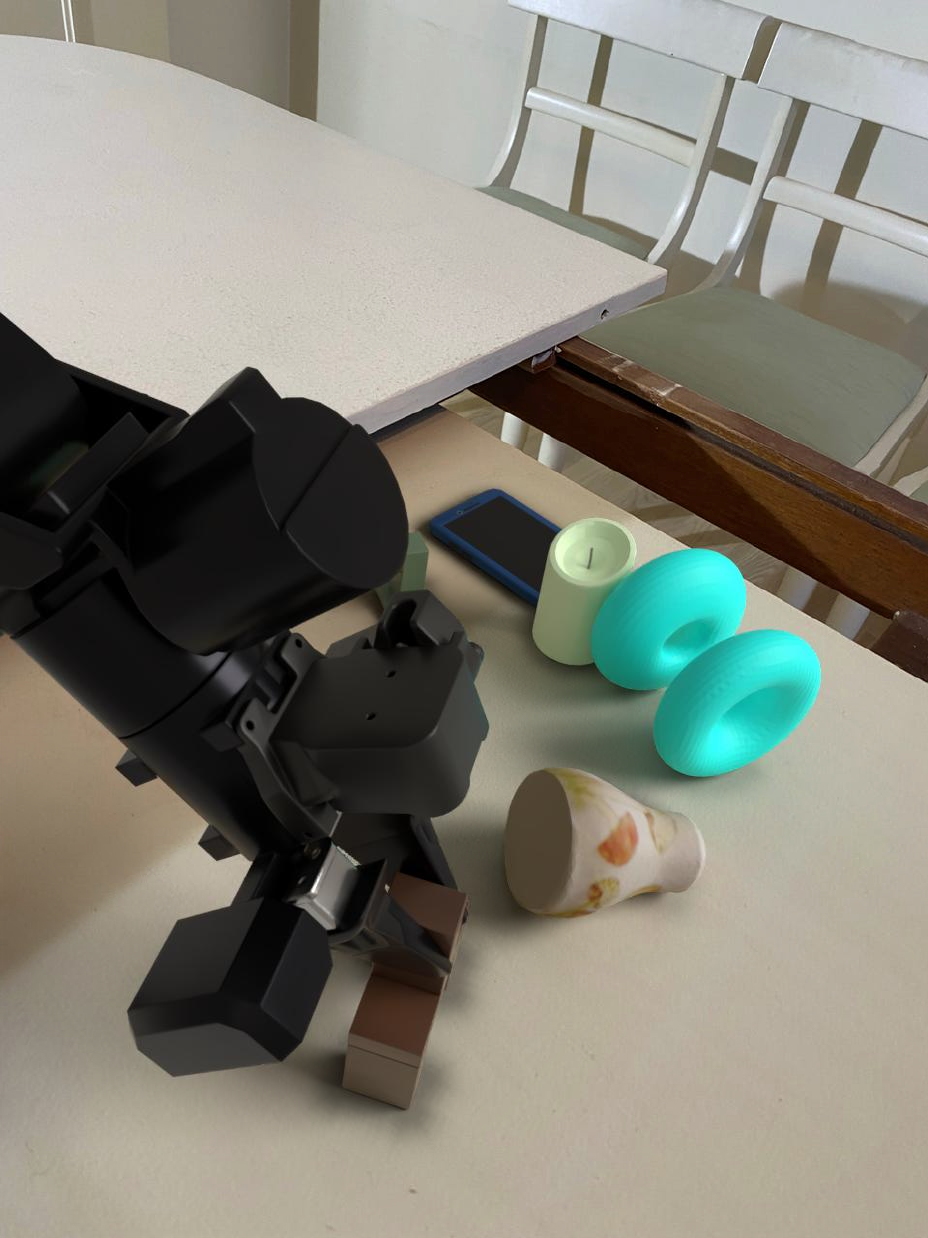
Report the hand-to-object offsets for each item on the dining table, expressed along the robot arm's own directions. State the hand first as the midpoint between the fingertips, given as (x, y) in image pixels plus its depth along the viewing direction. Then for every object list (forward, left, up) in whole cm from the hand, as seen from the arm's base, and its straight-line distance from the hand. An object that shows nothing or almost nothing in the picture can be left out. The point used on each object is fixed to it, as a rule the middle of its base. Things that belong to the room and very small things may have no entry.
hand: (451, 947), depth 41 cm
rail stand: (-3, +27, -7) cm, 28 cm away
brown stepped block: (-1, +1, -7) cm, 7 cm away
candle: (+13, +25, -7) cm, 29 cm away
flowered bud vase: (+10, +7, -7) cm, 14 cm away
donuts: (+18, +17, -7) cm, 26 cm away
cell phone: (+12, +32, -7) cm, 35 cm away
